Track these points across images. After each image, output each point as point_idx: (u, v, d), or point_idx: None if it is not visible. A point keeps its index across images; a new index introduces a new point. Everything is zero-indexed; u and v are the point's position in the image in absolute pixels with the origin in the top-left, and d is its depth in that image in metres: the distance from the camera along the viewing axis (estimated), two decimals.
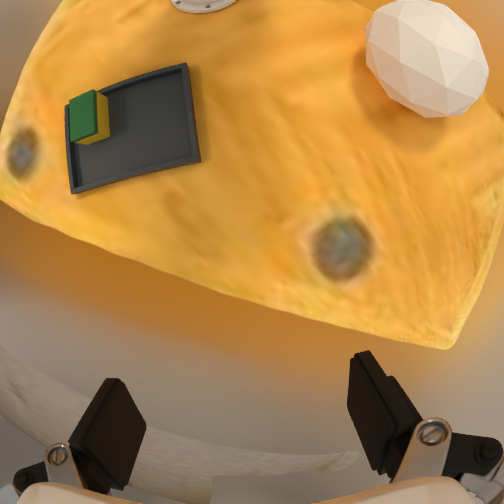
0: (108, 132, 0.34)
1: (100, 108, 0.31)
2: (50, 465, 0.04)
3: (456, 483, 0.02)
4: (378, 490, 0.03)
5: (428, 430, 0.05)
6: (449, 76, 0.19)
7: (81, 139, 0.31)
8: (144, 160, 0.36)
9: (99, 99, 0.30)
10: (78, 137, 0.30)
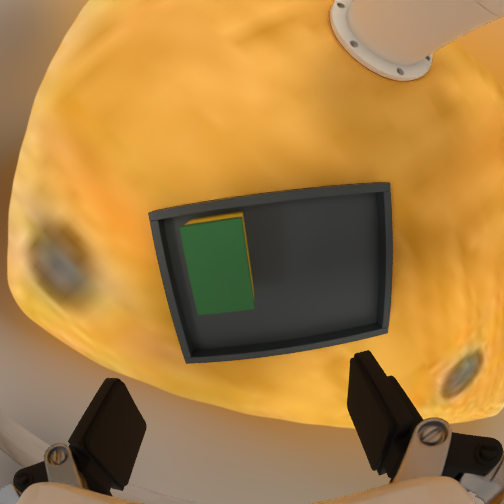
0: (252, 281, 0.25)
1: None
2: (50, 465, 0.04)
3: (456, 483, 0.02)
4: (377, 490, 0.03)
5: (428, 430, 0.05)
6: None
7: None
8: (311, 325, 0.27)
9: (244, 230, 0.21)
10: (216, 311, 0.21)
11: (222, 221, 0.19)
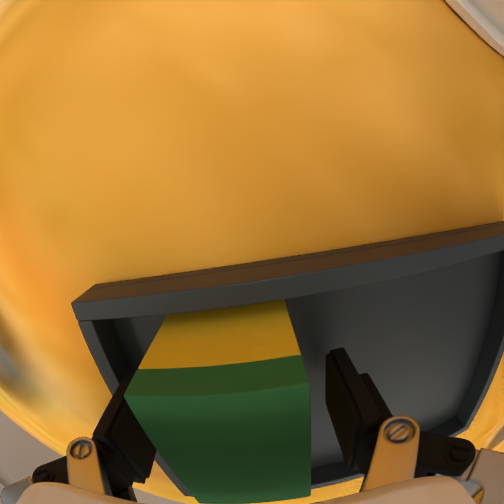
0: None
1: None
2: (74, 460, 0.05)
3: (456, 483, 0.02)
4: (378, 490, 0.03)
5: (394, 428, 0.05)
6: None
7: None
8: None
9: None
10: (236, 502, 0.07)
11: (248, 392, 0.05)
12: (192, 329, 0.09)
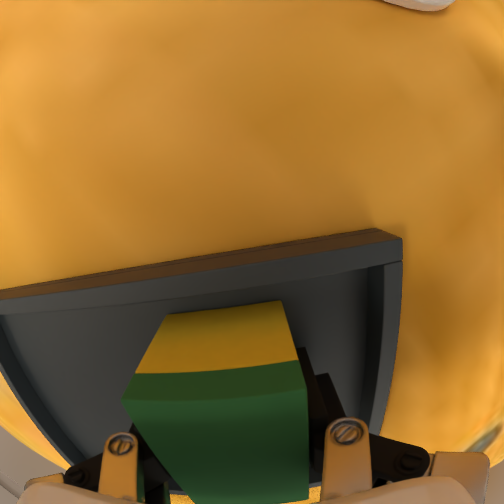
0: None
1: None
2: (114, 456, 0.05)
3: (456, 483, 0.02)
4: (378, 490, 0.03)
5: (341, 430, 0.06)
6: None
7: None
8: None
9: None
10: None
11: (245, 397, 0.05)
12: (189, 333, 0.08)
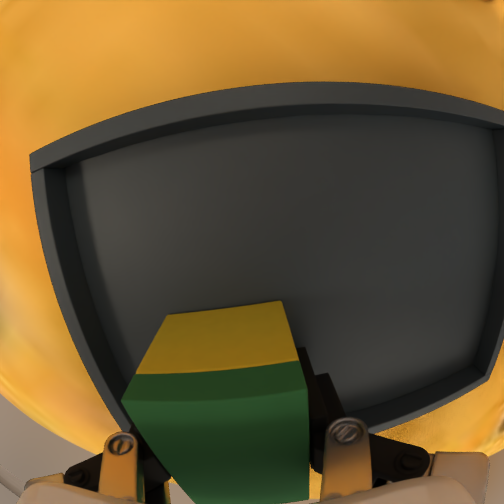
0: None
1: None
2: (114, 456, 0.05)
3: (456, 483, 0.02)
4: (377, 490, 0.03)
5: (341, 430, 0.06)
6: None
7: None
8: (380, 389, 0.12)
9: None
10: None
11: (246, 398, 0.05)
12: (190, 333, 0.08)
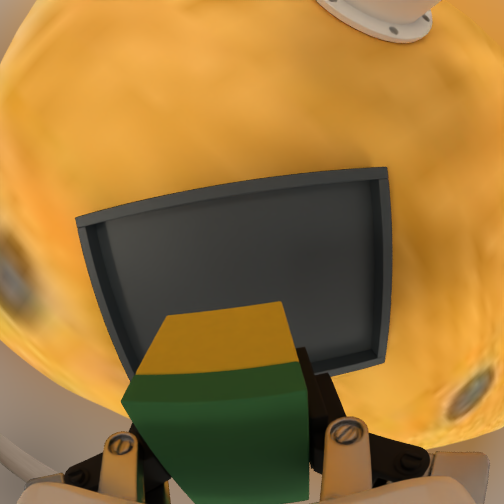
0: None
1: None
2: (114, 456, 0.05)
3: (456, 483, 0.02)
4: (377, 490, 0.03)
5: (341, 430, 0.06)
6: None
7: None
8: None
9: None
10: None
11: (246, 399, 0.05)
12: (190, 334, 0.08)
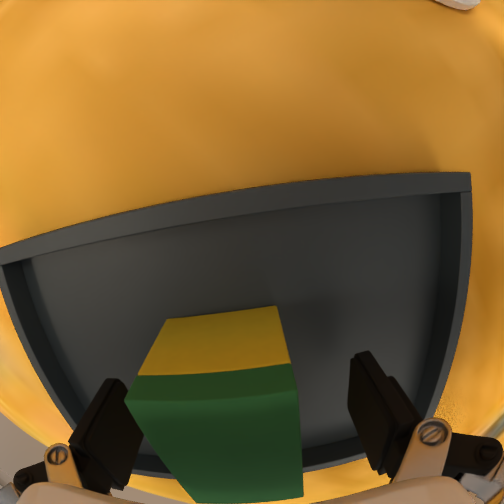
0: None
1: None
2: (50, 465, 0.04)
3: (456, 483, 0.02)
4: (377, 490, 0.03)
5: (428, 430, 0.05)
6: None
7: None
8: None
9: None
10: (231, 502, 0.07)
11: (240, 398, 0.06)
12: (188, 337, 0.09)
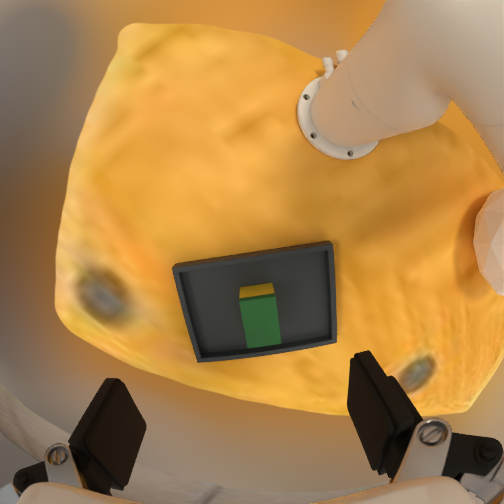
0: None
1: None
2: (50, 465, 0.04)
3: (456, 483, 0.02)
4: (378, 490, 0.03)
5: (428, 430, 0.05)
6: None
7: None
8: (281, 336, 0.40)
9: None
10: (259, 346, 0.35)
11: (264, 298, 0.33)
12: (249, 290, 0.36)
